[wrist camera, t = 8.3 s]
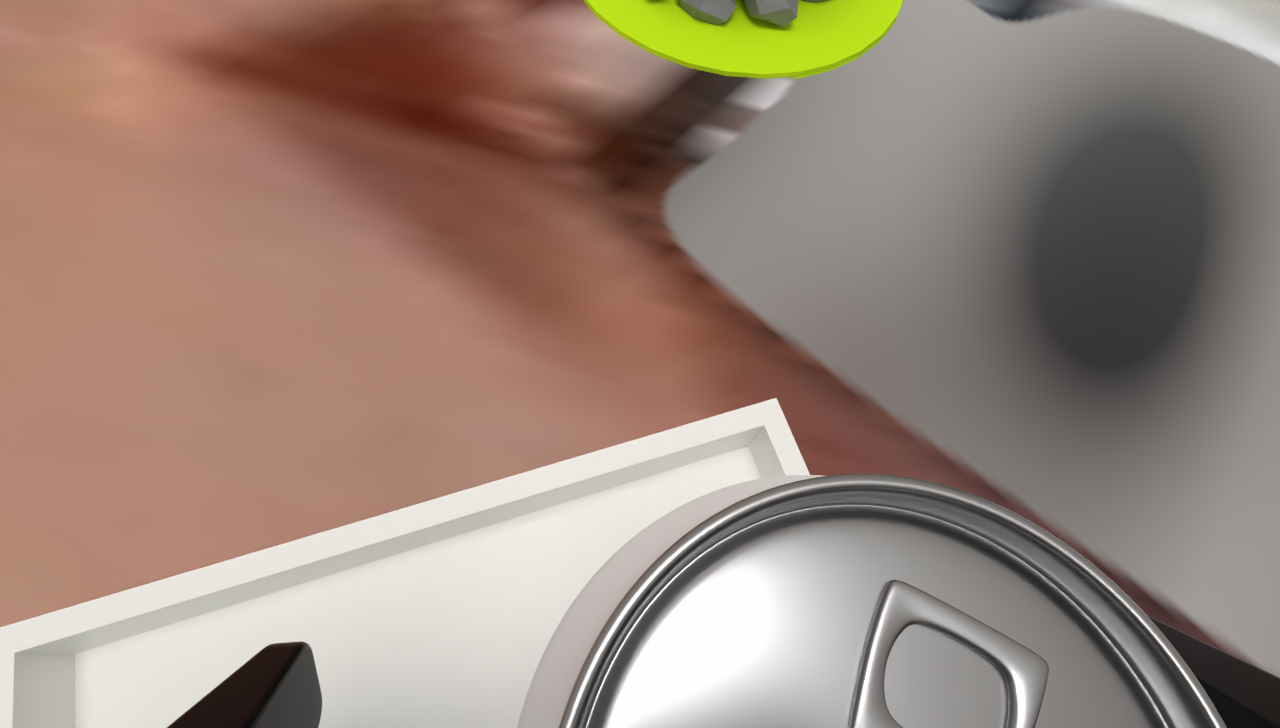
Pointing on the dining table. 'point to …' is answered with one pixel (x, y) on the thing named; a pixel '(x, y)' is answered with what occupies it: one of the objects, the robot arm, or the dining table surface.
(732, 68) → the toy cauldron
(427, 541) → the long tray
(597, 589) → the can
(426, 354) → the dining table surface
